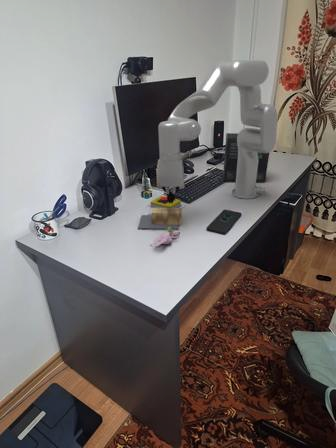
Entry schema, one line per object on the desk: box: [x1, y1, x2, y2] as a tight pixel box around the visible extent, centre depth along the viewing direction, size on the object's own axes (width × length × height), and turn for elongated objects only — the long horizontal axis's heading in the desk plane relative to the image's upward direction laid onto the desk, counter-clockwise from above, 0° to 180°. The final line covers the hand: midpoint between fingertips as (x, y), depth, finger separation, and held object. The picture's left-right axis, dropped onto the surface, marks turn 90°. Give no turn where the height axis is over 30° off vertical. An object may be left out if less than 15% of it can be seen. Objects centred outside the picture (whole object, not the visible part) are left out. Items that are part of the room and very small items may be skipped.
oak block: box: [150, 208, 183, 226], centre depth 125 cm, size 5×5×12 cm
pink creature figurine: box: [152, 227, 181, 247], centre depth 111 cm, size 6×6×15 cm
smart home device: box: [205, 209, 242, 236], centre depth 126 cm, size 8×2×20 cm
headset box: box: [222, 132, 270, 184], centre depth 167 cm, size 22×12×26 cm, turn 84°
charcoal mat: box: [137, 214, 180, 231], centre depth 126 cm, size 16×12×1 cm
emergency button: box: [147, 195, 186, 210], centre depth 140 cm, size 9×4×15 cm
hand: (171, 202), depth 122 cm, fingers closed
